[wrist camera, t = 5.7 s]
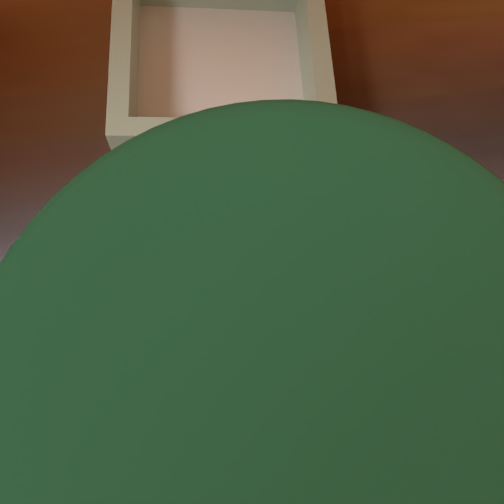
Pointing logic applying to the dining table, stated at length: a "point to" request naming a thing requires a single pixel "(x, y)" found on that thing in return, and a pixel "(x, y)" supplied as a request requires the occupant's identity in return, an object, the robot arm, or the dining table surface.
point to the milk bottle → (259, 319)
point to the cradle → (211, 58)
